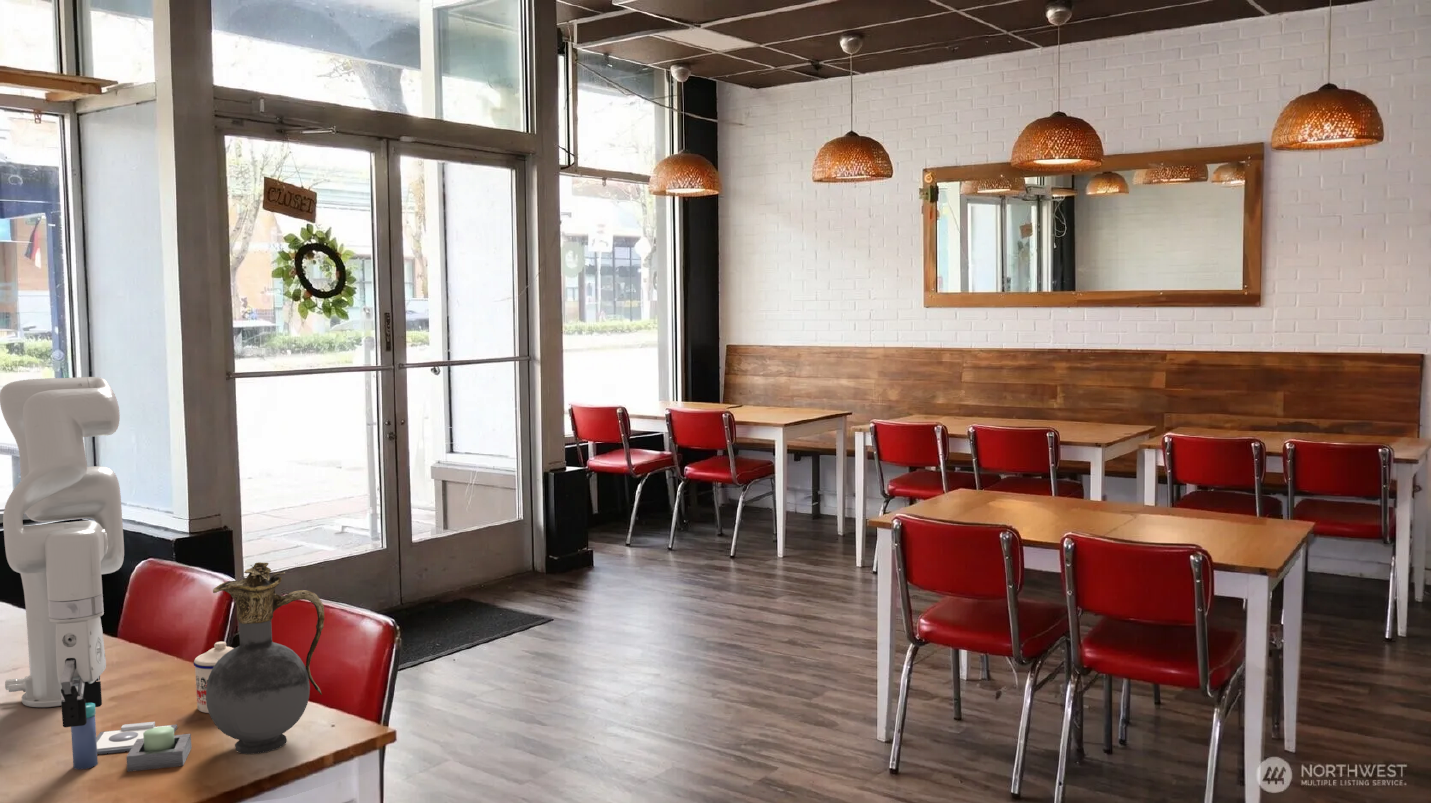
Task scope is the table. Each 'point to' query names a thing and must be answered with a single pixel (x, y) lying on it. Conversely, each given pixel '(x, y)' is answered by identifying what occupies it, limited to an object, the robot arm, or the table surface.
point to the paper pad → (123, 737)
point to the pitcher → (260, 668)
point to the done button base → (159, 755)
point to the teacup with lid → (207, 671)
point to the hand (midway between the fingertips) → (83, 716)
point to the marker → (85, 741)
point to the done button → (159, 739)
